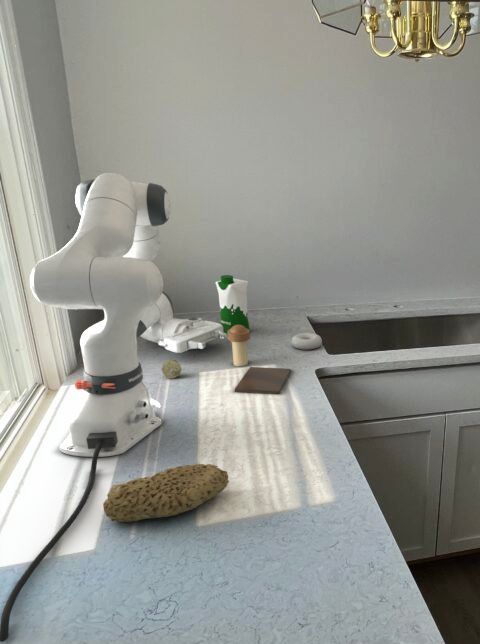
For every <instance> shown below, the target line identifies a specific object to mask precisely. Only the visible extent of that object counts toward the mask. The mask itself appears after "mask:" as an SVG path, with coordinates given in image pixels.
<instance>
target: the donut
mask: <svg viewBox="0 0 480 644" xmlns="http://www.w3.org/2000/svg"><path fill="white" fill-rule="evenodd" d="M291 344H292V347H294V348H295V349H297V350H304V351H311V350H315V349H317V348H320V347H321V345H322V344H323V339H322V337H321V336H320V335H318V334H316V333H312V332H302V333H298V334H295V335H294V336H293V337H292V339H291Z"/></svg>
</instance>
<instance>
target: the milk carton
mask: <svg viewBox="0 0 480 644" xmlns="http://www.w3.org/2000/svg"><path fill="white" fill-rule="evenodd" d="M248 285H249V281H248V280H243V279H239V278H234V275H229V274H224V275H221V276H220V280H217V281H215V286H216V289H217V293H218V301H219V313H220V314H219V315H220V324H221V325H222V326H223V332H224V333H226V334H227V331H228V330H229V329H231V328H232V327H233V326H235V325H242V326H244V327H245V328H247V329H249V330H250V331H251V329H250V323H249V316H248V315H249V314H248V313H249V312H248V299H247V291H248Z"/></svg>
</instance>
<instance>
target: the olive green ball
mask: <svg viewBox="0 0 480 644" xmlns="http://www.w3.org/2000/svg"><path fill="white" fill-rule="evenodd" d="M161 371H162V374H163V375H164V377H166V378H167V379H175V378H177V377H178V376H180V375H181V372H182V367H181V364H180V363H179V362H178V361H177V360H174V359H168V360H166V361H165V362H164V363H163V365H162V367H161Z"/></svg>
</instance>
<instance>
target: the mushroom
mask: <svg viewBox="0 0 480 644" xmlns="http://www.w3.org/2000/svg"><path fill="white" fill-rule="evenodd" d="M227 340H228V341H229V342H231V350H232V363H233V366H234V367H235V366H236V367H245V366H247V365H248V364H249V361H248V360H249V358H248V343H247V341H249V340H251V329H250V330H249V329H247V328H245V327H244V326H242V325H235V326H233V327H232V328H231V329H229V330H228V331H227Z"/></svg>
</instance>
